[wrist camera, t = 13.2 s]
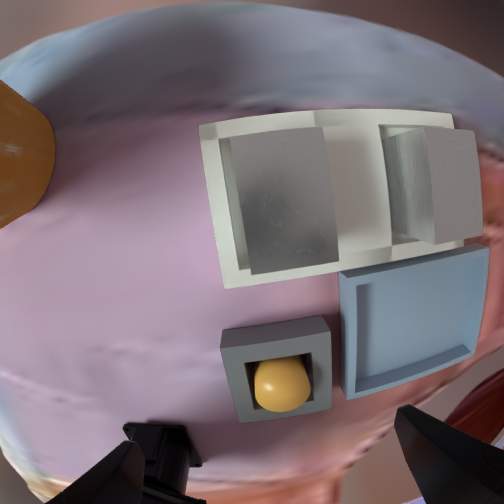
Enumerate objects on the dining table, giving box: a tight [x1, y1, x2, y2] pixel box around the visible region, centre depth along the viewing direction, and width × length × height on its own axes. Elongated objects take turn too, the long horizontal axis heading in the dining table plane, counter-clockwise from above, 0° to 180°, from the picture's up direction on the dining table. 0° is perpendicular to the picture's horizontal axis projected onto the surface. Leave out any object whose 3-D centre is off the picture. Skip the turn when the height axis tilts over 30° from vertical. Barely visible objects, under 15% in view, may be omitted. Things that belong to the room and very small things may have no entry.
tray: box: [338, 243, 490, 400], centre depth 19 cm, size 10×13×2 cm
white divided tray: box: [198, 109, 464, 289], centre depth 17 cm, size 10×17×2 cm, turn 99°
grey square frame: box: [220, 315, 332, 423], centre depth 19 cm, size 7×7×2 cm
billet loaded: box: [230, 127, 339, 275], centre depth 15 cm, size 6×4×5 cm, turn 9°
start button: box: [254, 355, 311, 412], centre depth 19 cm, size 4×4×3 cm
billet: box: [382, 127, 483, 245], centre depth 14 cm, size 6×4×5 cm, turn 9°
